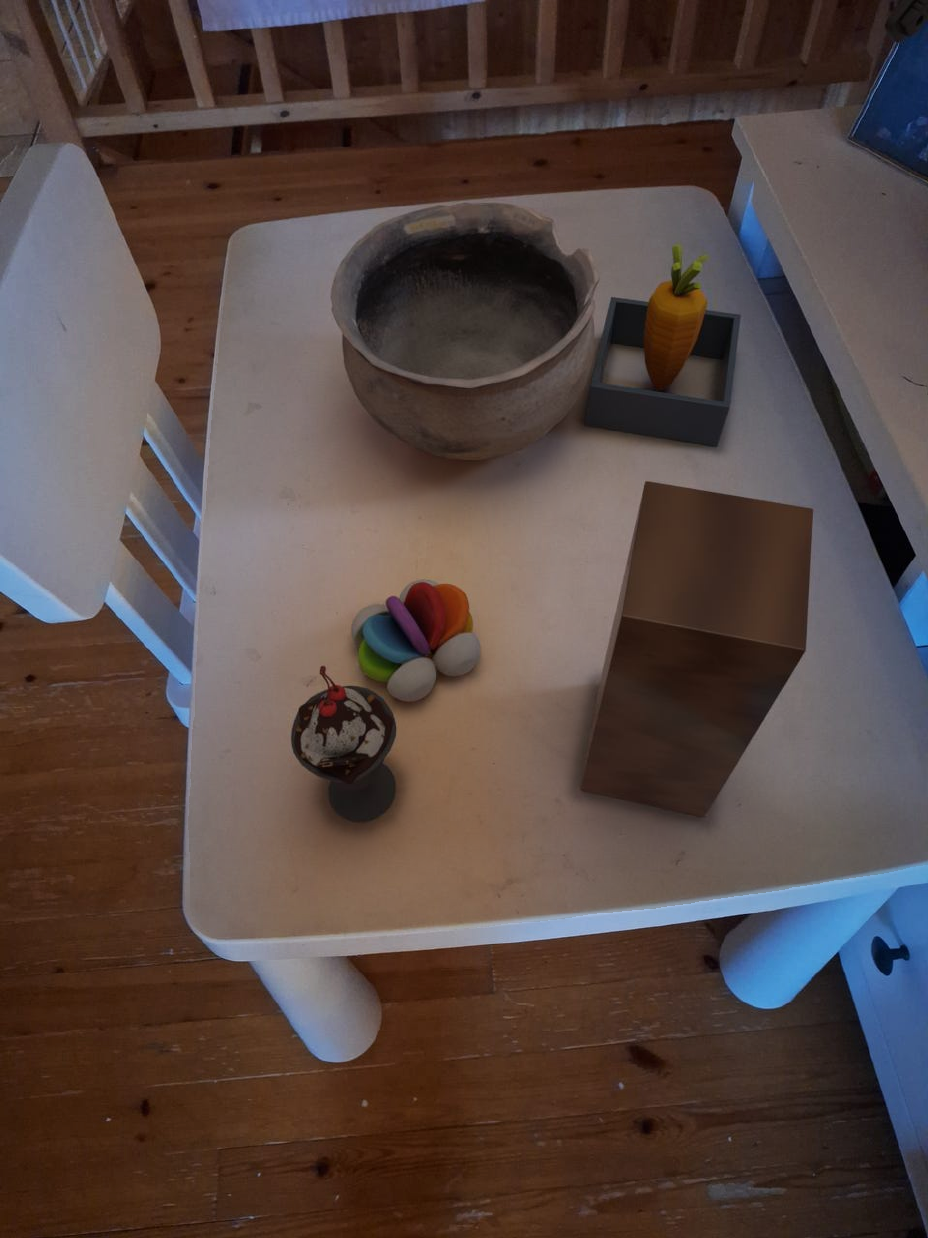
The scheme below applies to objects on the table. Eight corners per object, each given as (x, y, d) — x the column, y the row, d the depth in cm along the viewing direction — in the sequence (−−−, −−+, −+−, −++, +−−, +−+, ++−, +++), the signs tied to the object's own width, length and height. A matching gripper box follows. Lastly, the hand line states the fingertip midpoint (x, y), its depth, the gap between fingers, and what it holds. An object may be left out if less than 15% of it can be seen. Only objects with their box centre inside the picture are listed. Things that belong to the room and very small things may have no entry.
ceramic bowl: (624, 466, 81) (649, 334, 69) (395, 535, 78) (376, 410, 65) (531, 312, 92) (537, 174, 80) (327, 367, 89) (299, 231, 76)
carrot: (633, 369, 88) (658, 232, 75) (685, 373, 87) (719, 236, 75) (631, 406, 85) (657, 270, 72) (684, 410, 85) (719, 275, 72)
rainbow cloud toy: (497, 662, 71) (498, 613, 65) (391, 723, 69) (381, 678, 62) (441, 587, 75) (437, 534, 69) (339, 642, 72) (324, 592, 66)
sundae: (354, 730, 68) (323, 628, 55) (425, 778, 66) (410, 683, 53) (297, 799, 65) (251, 708, 53) (369, 851, 63) (339, 769, 51)
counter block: (716, 706, 69) (813, 508, 48) (705, 817, 64) (806, 650, 44) (599, 682, 70) (645, 479, 49) (579, 790, 65) (621, 615, 45)
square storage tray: (728, 355, 88) (741, 314, 84) (717, 446, 82) (729, 407, 78) (605, 337, 90) (611, 296, 86) (585, 425, 84) (590, 385, 80)
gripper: (941, -328, 56) (756, -63, 63) (1141, -265, 50) (910, 22, 57) (963, -234, 62) (791, -2, 69) (1143, -167, 56) (934, 81, 63)
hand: (845, 8), depth 63 cm, fingers open, 8 cm apart
